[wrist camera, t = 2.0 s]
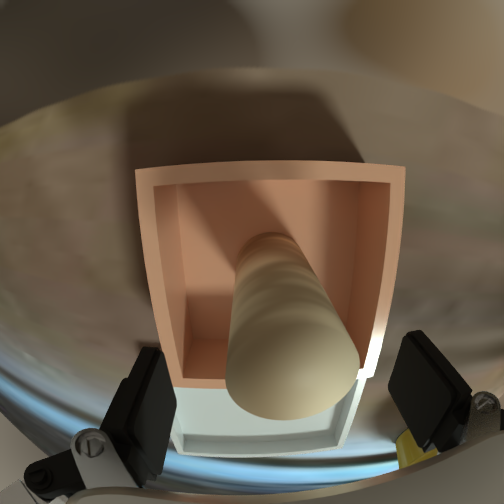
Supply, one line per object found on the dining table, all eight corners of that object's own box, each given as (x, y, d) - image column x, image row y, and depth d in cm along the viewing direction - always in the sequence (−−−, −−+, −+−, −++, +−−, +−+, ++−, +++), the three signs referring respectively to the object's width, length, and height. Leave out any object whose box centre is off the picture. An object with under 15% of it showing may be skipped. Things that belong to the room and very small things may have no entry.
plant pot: (435, 401, 29) (464, 449, 19) (446, 423, 31) (469, 462, 22) (375, 441, 31) (394, 492, 21) (395, 456, 33) (411, 498, 24)
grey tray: (360, 353, 25) (368, 369, 23) (338, 433, 29) (342, 448, 27) (155, 360, 25) (148, 376, 22) (181, 439, 29) (178, 454, 27)
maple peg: (305, 231, 20) (370, 317, 9) (302, 294, 22) (347, 413, 10) (235, 233, 20) (219, 326, 9) (238, 296, 22) (230, 422, 10)
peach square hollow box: (365, 164, 20) (405, 166, 14) (350, 334, 24) (372, 376, 18) (165, 166, 19) (135, 169, 14) (185, 341, 24) (171, 386, 18)
